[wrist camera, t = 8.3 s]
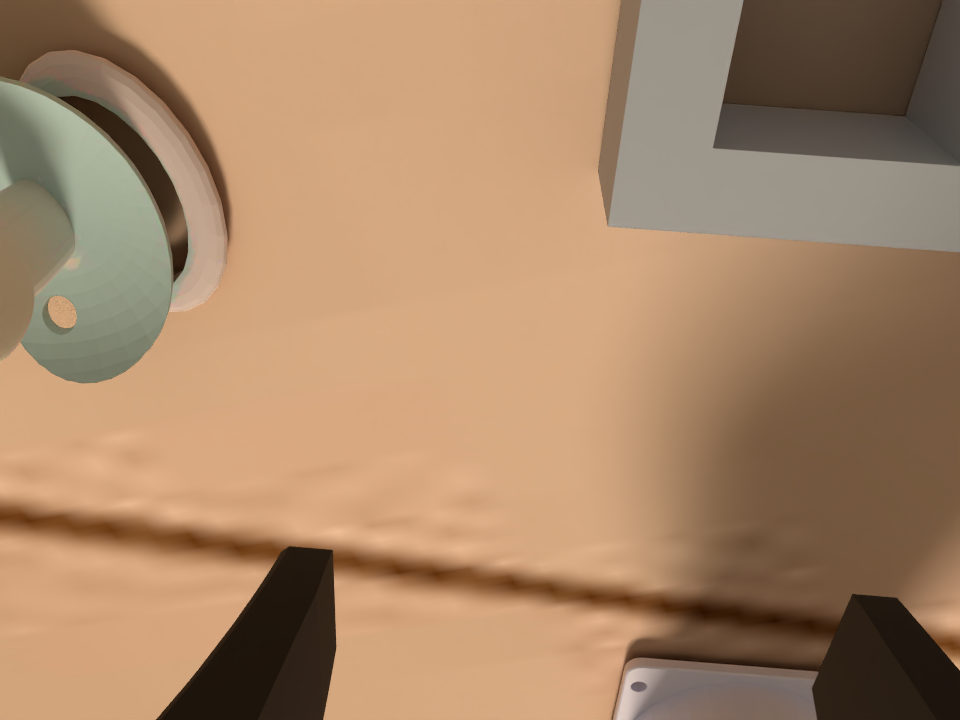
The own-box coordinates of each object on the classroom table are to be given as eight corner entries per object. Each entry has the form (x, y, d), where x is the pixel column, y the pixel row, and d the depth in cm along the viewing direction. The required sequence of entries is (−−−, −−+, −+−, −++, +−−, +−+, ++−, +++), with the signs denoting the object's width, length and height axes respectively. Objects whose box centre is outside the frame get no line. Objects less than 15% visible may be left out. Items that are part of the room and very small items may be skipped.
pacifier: (140, -4, 18) (-102, 77, 19) (-7, 73, 13) (-331, 178, 14) (280, 293, 22) (70, 348, 23) (209, 447, 17) (-58, 510, 18)
